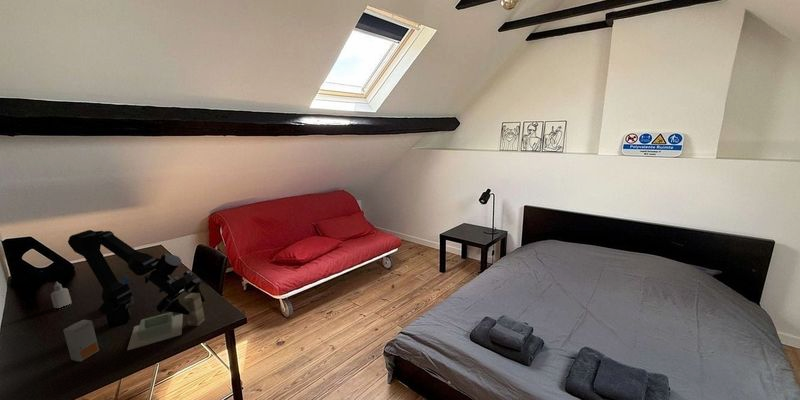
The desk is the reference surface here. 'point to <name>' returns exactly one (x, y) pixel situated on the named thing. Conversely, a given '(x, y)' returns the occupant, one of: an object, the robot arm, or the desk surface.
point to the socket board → (156, 330)
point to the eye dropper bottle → (60, 296)
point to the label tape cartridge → (129, 287)
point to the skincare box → (81, 340)
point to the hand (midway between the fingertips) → (196, 307)
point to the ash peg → (194, 309)
